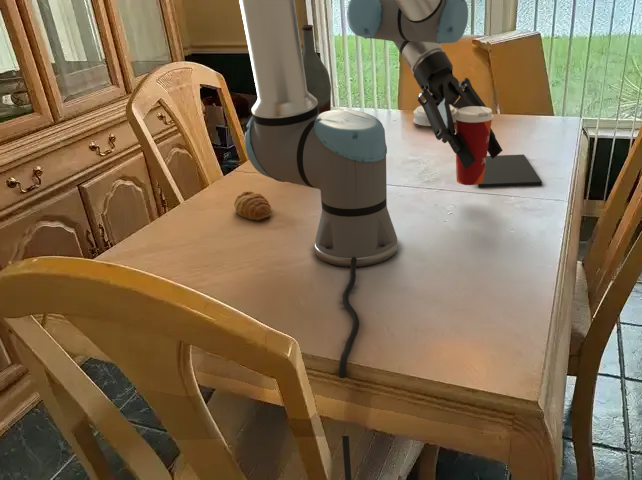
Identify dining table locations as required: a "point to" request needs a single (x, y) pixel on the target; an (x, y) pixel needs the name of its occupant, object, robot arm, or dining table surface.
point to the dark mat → (509, 172)
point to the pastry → (252, 206)
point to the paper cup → (473, 141)
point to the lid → (422, 118)
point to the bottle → (315, 71)
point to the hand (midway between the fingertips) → (484, 159)
